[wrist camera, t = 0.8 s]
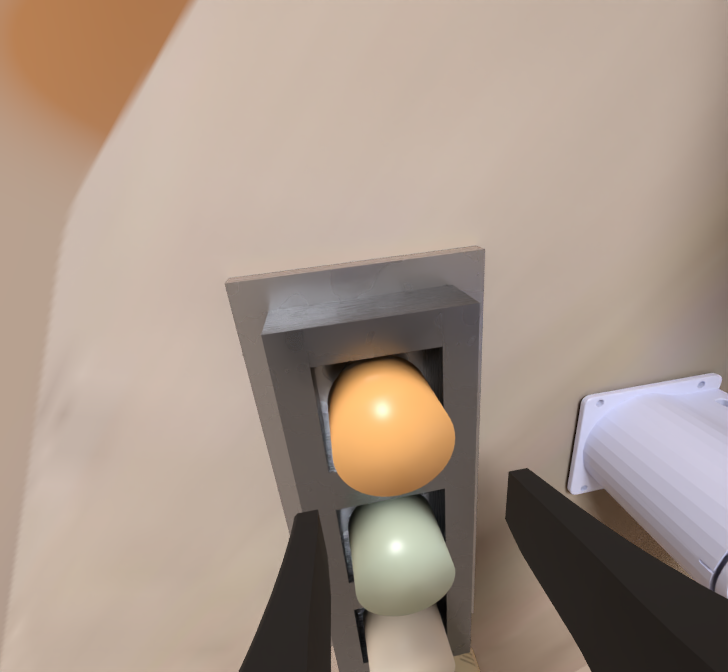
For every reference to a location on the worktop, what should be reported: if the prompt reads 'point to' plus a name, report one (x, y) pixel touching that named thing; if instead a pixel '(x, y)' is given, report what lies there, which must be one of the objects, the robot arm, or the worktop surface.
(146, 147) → the worktop surface
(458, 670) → the skincare box
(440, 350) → the button panel
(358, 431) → the orange button
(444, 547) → the sage button
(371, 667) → the ivory button
